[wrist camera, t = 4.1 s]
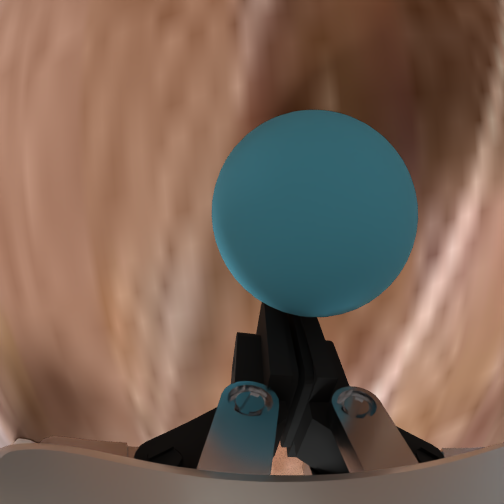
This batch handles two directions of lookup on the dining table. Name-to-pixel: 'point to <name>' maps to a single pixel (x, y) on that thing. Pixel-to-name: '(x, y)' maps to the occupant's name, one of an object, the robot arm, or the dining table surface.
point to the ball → (314, 213)
